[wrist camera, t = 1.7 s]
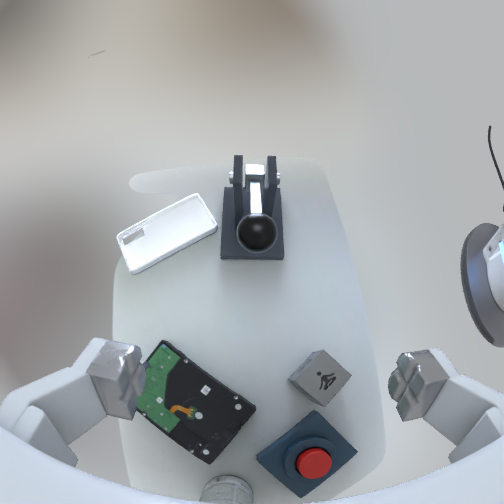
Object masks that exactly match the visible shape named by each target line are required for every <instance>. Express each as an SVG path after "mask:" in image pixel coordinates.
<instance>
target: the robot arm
mask: <svg viewBox="0 0 504 504" xmlns="http://www.w3.org/2000/svg"><path fill="white" fill-rule="evenodd" d="M490 131H491V126H489V130H488V142H489V148H490V151H491V155H492V158H493V161H494V164H495V167H496V169H497V172H498V175H499V178H500V181H501V183H502V186H503V189H504V182H503V179H502V176H501V173H500V171H499V168H498V165H497V163H496V160H495V157H494V154H493V150H492V147H491V141H490ZM503 211H504V206H503ZM483 255H484V258H485V261H486V265H487V274H488V281H489V285H490V289H491V292H492V295H493V297H494V299H495V301H496V303H497V304H498V306H499V307H500V308H501V310H503V311H504V224H502V225H501V226H500V227H499V229H498V230H497V231H496V233H495V234H494V235H493V237H492V238H491V239H490V241H489V242H488V243H487V245H486V246H485V247H484V249H483ZM141 358H142V353H141V349H140V347H138V346H136V345H131V344H126V343H121V342H116V341H112V340H106V339H101V338H98V337H96V338H93V339H92V340H91V341H90V343H89V344H88V345H87V347H86V348H85V349H84V350H83V352H82V353H81V355H80V356H79V357H78V359H77V360H76V361H75V363H74V364H73V365H72V367H71V368H68V367H66V368H63V369H62V370H59V371H57V372H55V373H52V374H50V375H48V376H46V377H43V378H41V379H39V380H36V381H34V382H32V383H30V384H27V385H25V386H23V387H20V388H18V389H16V390H13V391H11V392H10V393H9V394H8V395H7V397H6V398H5V400H4V401H3V402H2V403H1V405H0V504H216V503H206V502H198V501H191V500H184V499H178V498H173V497H167V496H163V495H158V494H153V493H149V492H145V491H141V490H137V489H134V488H130V487H127V486H123V485H120V484H117V483H114V482H111V481H108V480H105V479H102V478H99V477H97V476H94V475H91V474H89V473H86V472H84V471H81V470H79V469H76V468H75V466H76V463H77V461H78V459H77V457H76V455H75V454H74V453H73V451H72V450H71V449H70V448H69V447H68V445H69V444H70V443H72V442H73V441H74V440H76V439H77V438H78V437H80V436H81V435H83V434H84V433H85V432H87V431H88V430H89V429H91V428H92V427H94V426H95V425H96V424H98V423H99V422H100V421H101V420H103V419H104V418H106V417H107V415H110V416H114V417H118V418H122V419H127V420H131V421H132V420H133V417H134V415H135V412H136V410H137V407H138V403H137V400H136V398H138V397H140V396H141V395H142V394H143V392H144V389H145V384H146V371H145V367H144V366H143V365H142V364H141V363H140V360H141ZM396 363H397V366H398V367H397V368H396V369H395V370H394V371H393V372H392V373H391V376H390V378H389V384H388V389H389V394H390V396H391V398H392V399H393V400H395V401H396V402H398V403H397V407H396V408H397V410H398V413H399V415H400V417H401V419H402V421H409V420H413V419H418V418H422V417H423V419H424V420H425V421H426V422H428V423H429V424H430V425H431V426H433V427H434V428H435V429H436V430H438V431H439V432H440V433H441V434H442V435H444V436H445V437H446V438H447V439H449V440H450V441H451V442H453V443H454V444H455V445H456V446H457V447H456V448H455V449H454V450H453V451H452V452H451V453H450V454H449V457H448V458H449V459H450V462H451V464H450V465H448V466H446V467H444V468H442V469H439V470H437V471H434V472H432V473H429V474H427V475H424V476H422V477H419V478H416V479H413V480H410V481H408V482H405V483H401V484H398V485H395V486H392V487H388V488H385V489H381V490H377V491H374V492H370V493H365V494H361V495H356V496H351V497H346V498H341V499H335V500H328V501H321V502H313V503H303V504H504V395H503V394H501V393H499V392H497V391H495V390H493V389H491V388H489V387H487V386H485V385H483V384H481V383H479V382H477V381H475V380H474V379H471V378H470V377H468V376H465V375H460V373H459V372H458V371H457V369H456V368H455V367H454V366H453V364H452V363H451V362H450V361H449V359H448V358H447V357H446V356H445V354H444V353H443V352H442V351H441V349H439V348H432V349H426V350H422V351H415V352H407V353H402V354H401V355H400V356H399V358H398V360H397V362H396Z"/></svg>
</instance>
